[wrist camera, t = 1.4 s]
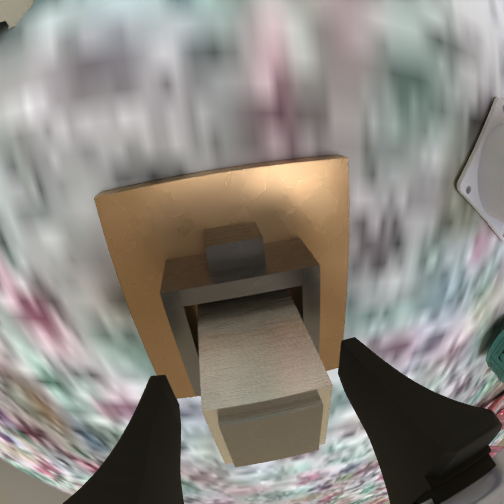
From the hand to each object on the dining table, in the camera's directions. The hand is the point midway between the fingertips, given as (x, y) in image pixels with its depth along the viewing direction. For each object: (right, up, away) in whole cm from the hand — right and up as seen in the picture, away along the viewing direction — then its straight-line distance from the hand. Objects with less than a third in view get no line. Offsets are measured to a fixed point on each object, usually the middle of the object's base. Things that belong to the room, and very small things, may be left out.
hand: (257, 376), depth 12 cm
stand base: (-1, +3, +6) cm, 6 cm away
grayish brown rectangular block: (-1, +2, +5) cm, 5 cm away
